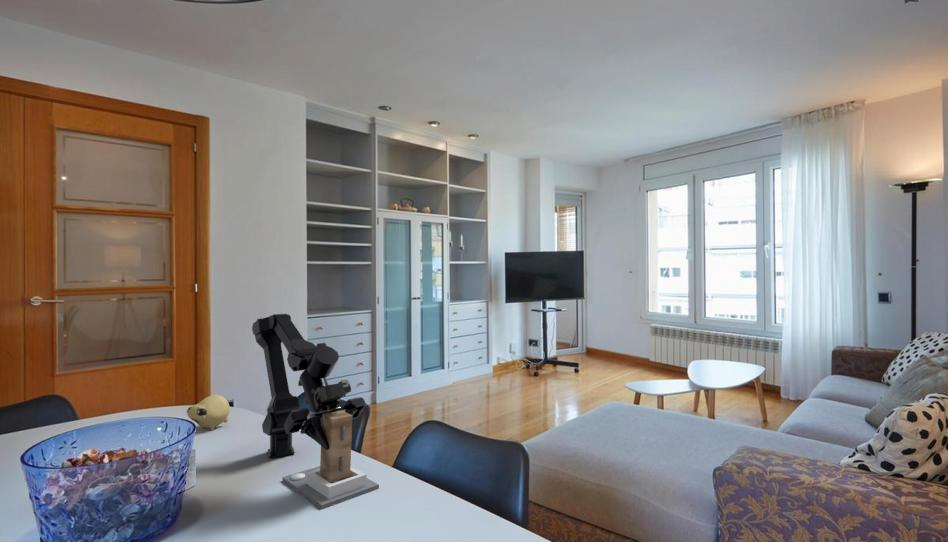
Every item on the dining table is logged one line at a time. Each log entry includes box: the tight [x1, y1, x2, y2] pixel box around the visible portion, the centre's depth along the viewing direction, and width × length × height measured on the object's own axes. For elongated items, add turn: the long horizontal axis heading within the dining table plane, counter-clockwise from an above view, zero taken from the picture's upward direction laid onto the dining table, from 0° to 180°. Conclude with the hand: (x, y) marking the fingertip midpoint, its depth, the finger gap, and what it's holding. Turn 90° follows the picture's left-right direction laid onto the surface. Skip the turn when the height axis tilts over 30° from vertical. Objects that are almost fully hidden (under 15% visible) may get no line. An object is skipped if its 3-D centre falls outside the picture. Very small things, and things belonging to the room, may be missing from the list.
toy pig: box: [186, 394, 231, 431], centre depth 152 cm, size 10×12×11 cm
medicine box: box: [184, 448, 197, 492], centre depth 108 cm, size 8×4×9 cm, turn 74°
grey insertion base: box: [282, 465, 380, 510], centre depth 109 cm, size 20×14×3 cm
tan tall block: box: [319, 411, 353, 482], centre depth 107 cm, size 6×5×14 cm
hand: (339, 446), depth 106 cm, fingers closed on tan tall block, 5 cm apart
